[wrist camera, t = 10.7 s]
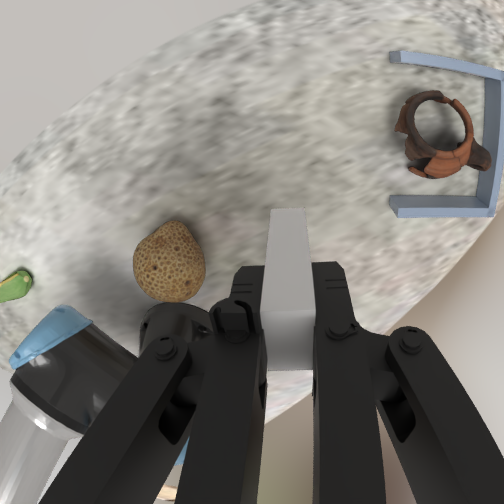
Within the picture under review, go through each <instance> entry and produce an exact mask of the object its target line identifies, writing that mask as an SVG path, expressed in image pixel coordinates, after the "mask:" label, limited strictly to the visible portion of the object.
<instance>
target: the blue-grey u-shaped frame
mask: <svg viewBox="0 0 504 504" xmlns="http://www.w3.org/2000/svg"><path fill="white" fill-rule="evenodd" d="M389 53H390V63H401V64H410V65H419V66H426V67H433V68H439V69H445V70H451V71H457V72H462V73H467V74H471V75H476V76H480V77H484V78H485V118H484V135H483V147H484V148H485V149H486V150H488V151H489V153H490V155H491V158H492V162H491V167H490V168H489V169H488V170H487V171H485V172H484V171H480V173H479V180H478V187H477V193H476V196H434V195H390V200H389V205H390V207H391V208H392V210H393V211H394V213H395V215H396V216H397V218H417V217H494V214H495V209H496V204H497V199H498V194H499V189H500V183H501V177H502V170H503V163H504V71H501V70H498V69H494V68H490V67H487V66H483V65H479V64H475V63H471V62H466V61H462V60H457V59H452V58H447V57H441V56H436V55H430V54H423V53H416V52H408V51H394V52H389Z"/></svg>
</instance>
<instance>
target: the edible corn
mask: <svg viewBox="0 0 504 504" xmlns="http://www.w3.org/2000/svg"><path fill="white" fill-rule="evenodd" d="M31 283H32V279H31V277H30V275H29V274H28V273H27V272H26V271H18V272H14V273H13V274H11V275H10V276H9V277H7V278H6V279H5V280H4V281H3V282H1V283H0V303H2V302H6V301H10V300H14V299H19V298H21V297H24V296H25V295H26V294H27V293H28V291H29V290H30V288H31Z"/></svg>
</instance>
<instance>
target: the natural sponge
mask: <svg viewBox="0 0 504 504" xmlns="http://www.w3.org/2000/svg"><path fill="white" fill-rule="evenodd" d="M133 270H134V275H135V278H136V281H137V283H138V284H139V286H140V287H141V288H142V290H143V291H144V292H145V293H146V294H147V295H149V296H150V297H152V298H154V299H156V300H159V301H163V302H172V303H176V302H182V301H185V300H188V299H190V298H191V297H193V296H194V295H195V294H196V293H197V292H198V290H199V289H200V287H201V285H202V283H203V281H204V278H205V261H204V256H203V253H202V251H201V248H200V247H199V245H198V244H197V242H196V241H195V240H194V238H193V236H192V235H191V233H190V232H189V230H188V229H187V227H186V226H185V225H184V224H182V223H181V222H179V221H176V220H174V221H169V222H167V223H165V224H163V225H162V226H160V227H159V228H158V229H157V230H156V231H155V232H154V233H152V234H151V235H149V236H148V237H146V238H144V239H143V240H142V241H141V242H140V243H139V244H138V246H137V248H136V250H135V252H134V256H133Z"/></svg>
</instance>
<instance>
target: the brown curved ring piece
mask: <svg viewBox="0 0 504 504" xmlns="http://www.w3.org/2000/svg"><path fill="white" fill-rule="evenodd" d="M427 100H434V101H436V102H440V103H445V104H446V103H448V104H450V105H451V106H452V107H453V108H454V109H455V110H456V111H457V112H458V113H459V115H460V116H461V118H462V120H463V122H464V126H465V139H464V141H463V142H459V143H458V144H457V148H456V149H455V150H452V151H442V150H438V149H434V148H433V147H431V146H430V145H428V144H427V143H426V142H425V141H424V140H423V139H422V137H421V136H420V135H419V133H418V131H417V129H416V127H415V122H414V114H415V111H416V109H417V107H418V106H419V105H420V104H421V103H423V102H424V101H427ZM405 103H406V104H405V105H403V106H402V108H401V111H400V116H399V119H398V122H397V124H396V126H395V130H394V131H396V132H397V131H399V132H402V133H405V134H408V137H407V138H406V141H405V147H406V151H405V154H406V156H407V157H408V159H409V160H411V161H413V160H414V159H416V158H417V159H421V158H427V157H431V159H430V161H429V163H428V164H427V165H426V166H425V167H424V172H421V171H419V170H418V169H416V168H414V167H409V171H411V172H412V173H414V174H416V175H419V176H421V177H425V178H429V179H437V178H444V177H448V176H450V175H452V174H454V173H456V172H458V171H459V170H461V167H462V166H464V165H467V166H470V167H472V168H474V169H477V170H480V171H484V172H485V171H487V170H488V169H489V168H490V167H491V162H492V158H491V155H490V153H489V151H488V150H486V149H485V148H484V147H482V146H480V145H479V144H478V143H477V142H476V141H475V139H474V137H473V136H474V132H473V131H474V130H473V125H472V120H471V118H470V115H469V114H468V112H467V110H466V109H465V107H464V106H463V105H462V104H461V103H460V102H459V101H458V100H456V99H453V100H450V99H449V98H447V97H445V96H444V95H443V94H442V93H441V92H440V91H434V90H432V91H425V92H422V93H419V94H416V95H414V96H412V97H410V98H409V99H408V100H406V102H405Z"/></svg>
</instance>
